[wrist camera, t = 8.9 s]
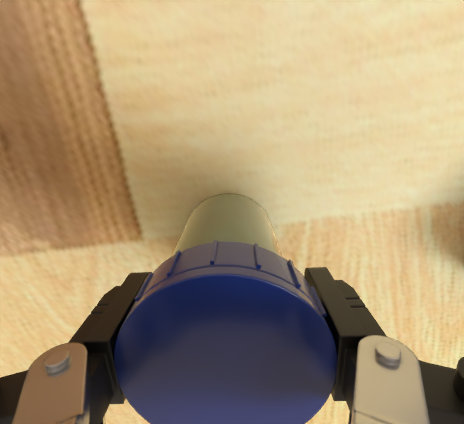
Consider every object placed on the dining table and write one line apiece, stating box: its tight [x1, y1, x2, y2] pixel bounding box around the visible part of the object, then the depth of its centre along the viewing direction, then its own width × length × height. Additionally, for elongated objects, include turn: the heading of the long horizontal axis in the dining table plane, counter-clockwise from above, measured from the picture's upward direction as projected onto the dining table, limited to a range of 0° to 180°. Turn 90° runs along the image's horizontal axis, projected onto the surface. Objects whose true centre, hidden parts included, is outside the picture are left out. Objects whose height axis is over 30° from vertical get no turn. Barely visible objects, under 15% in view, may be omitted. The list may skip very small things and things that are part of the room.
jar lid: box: [114, 240, 338, 424], centre depth 8 cm, size 6×6×2 cm
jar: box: [171, 194, 282, 257], centre depth 12 cm, size 5×5×9 cm
